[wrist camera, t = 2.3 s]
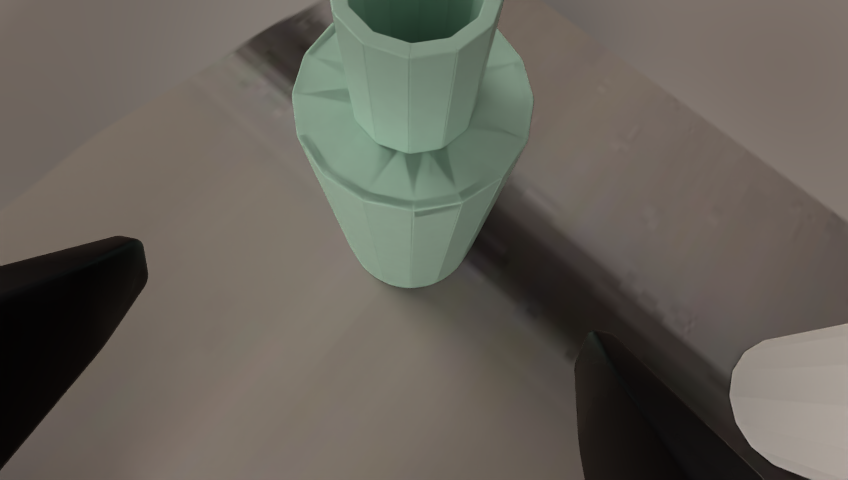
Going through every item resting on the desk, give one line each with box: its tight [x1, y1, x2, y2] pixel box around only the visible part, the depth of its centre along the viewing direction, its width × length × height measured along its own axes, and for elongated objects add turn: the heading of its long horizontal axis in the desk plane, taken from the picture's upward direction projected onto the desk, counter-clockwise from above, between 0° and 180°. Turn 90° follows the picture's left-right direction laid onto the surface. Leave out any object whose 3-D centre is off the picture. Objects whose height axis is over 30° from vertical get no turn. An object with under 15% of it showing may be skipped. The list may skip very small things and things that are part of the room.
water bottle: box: [292, 0, 534, 288], centre depth 15 cm, size 6×6×14 cm
